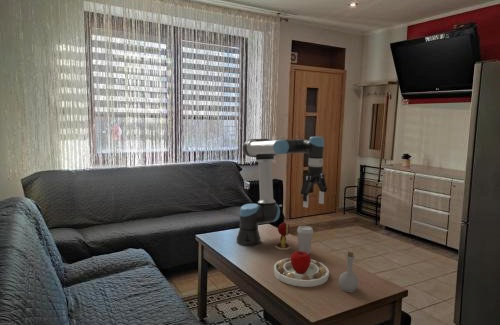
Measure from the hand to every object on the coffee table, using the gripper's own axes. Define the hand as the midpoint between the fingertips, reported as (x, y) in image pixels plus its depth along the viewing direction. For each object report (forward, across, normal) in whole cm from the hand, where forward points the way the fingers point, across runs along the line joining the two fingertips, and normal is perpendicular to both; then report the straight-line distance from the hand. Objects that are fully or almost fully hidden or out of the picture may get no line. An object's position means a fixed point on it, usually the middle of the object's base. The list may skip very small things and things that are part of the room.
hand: (313, 205), depth 186 cm
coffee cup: (+32, +8, +11) cm, 35 cm away
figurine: (+32, +5, +25) cm, 41 cm away
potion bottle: (+32, -11, -30) cm, 45 cm away
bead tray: (+32, -16, -6) cm, 36 cm away
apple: (+31, -16, -6) cm, 35 cm away
